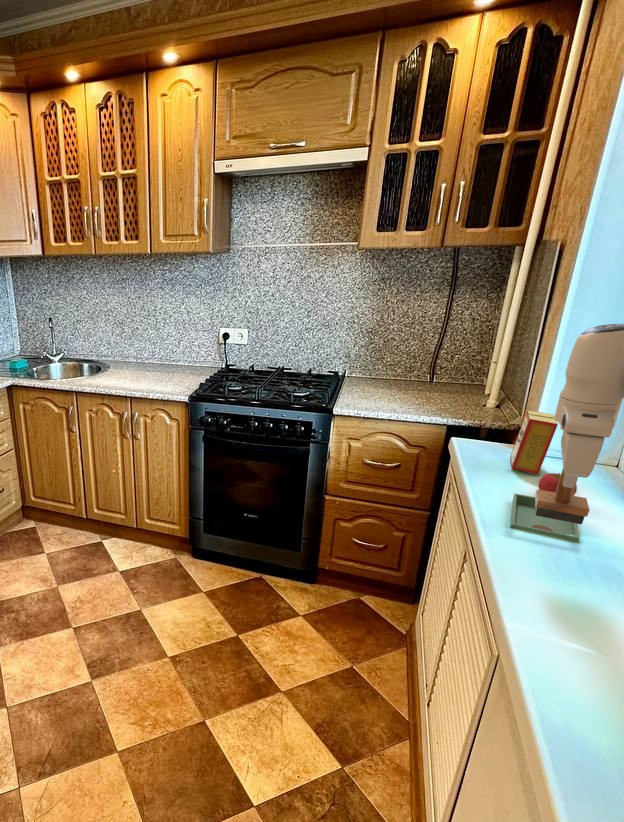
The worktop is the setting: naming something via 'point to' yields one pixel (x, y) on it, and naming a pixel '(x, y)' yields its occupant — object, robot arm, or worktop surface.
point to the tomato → (551, 483)
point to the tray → (539, 520)
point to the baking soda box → (533, 441)
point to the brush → (561, 504)
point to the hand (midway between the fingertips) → (567, 482)
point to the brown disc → (542, 527)
